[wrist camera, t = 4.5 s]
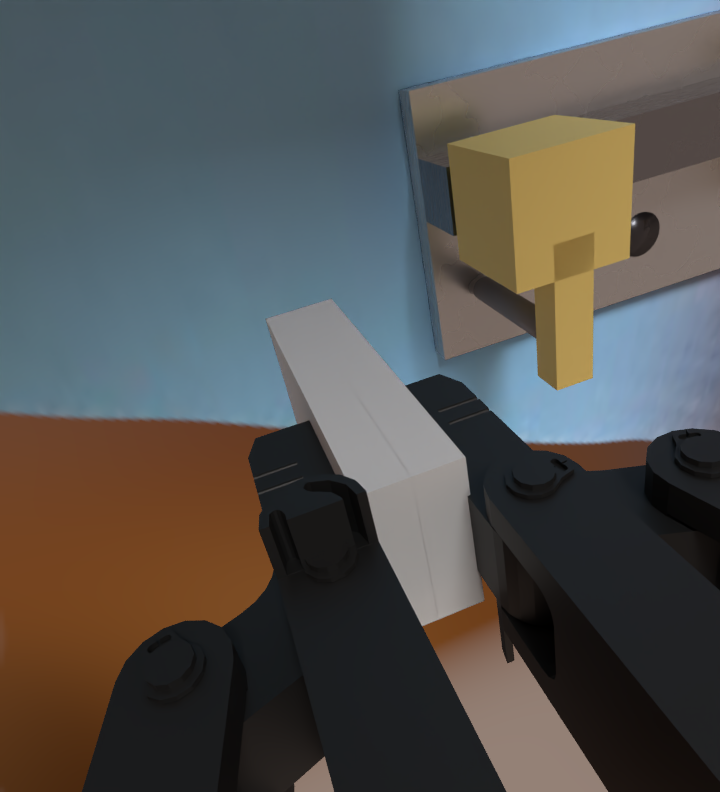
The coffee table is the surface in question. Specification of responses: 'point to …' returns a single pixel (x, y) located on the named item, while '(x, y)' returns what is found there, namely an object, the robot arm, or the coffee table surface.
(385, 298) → the coffee table surface
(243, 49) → the coffee table surface
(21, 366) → the coffee table surface
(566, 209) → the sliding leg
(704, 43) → the hole plate
